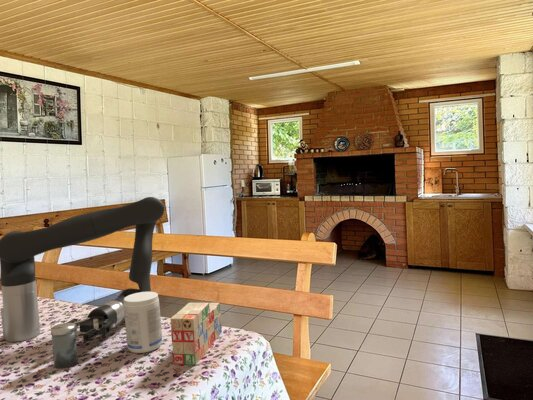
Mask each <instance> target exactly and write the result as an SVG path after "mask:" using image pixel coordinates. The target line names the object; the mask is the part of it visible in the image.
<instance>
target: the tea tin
mask: <svg viewBox="0 0 533 400" xmlns="http://www.w3.org/2000/svg"><path fill="white" fill-rule="evenodd" d="M75 330H76V328H75V323H67V322H64V323H58V324H57V325H56V324H55V325H53V326H52V327H51V328H50V335H51V343H52V354H53V366H54V367H53V368H54V369H55V370H63V369H68V368H71V367H73V366H75V365H76V364H78V361H79V359H78V358H79V357H78V350H77V349H78V348H77V337H76V336H77V335H76V333H75Z"/></svg>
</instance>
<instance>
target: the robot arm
mask: <svg viewBox="0 0 533 400" xmlns="http://www.w3.org/2000/svg"><path fill="white" fill-rule="evenodd" d="M164 214H165V205H164V203H163V202H162V200H160V199H159V198H158V197H154V196H147V197H144V198H142V199H140V200H137V201H135V202H131V203H129V204H126V205H123V206H118V207H113V208H112V207H111V208H105V209H99V210H94V211H90V212H86V213H81V214H79V215H78V214H77V215H75V216H72V217H68V218H66V219H64V220H61V221H58V222H55V223H54V224H52V225H48V226H46V227H42V228H37V229H34V230H28V231H21V230H14V231H12V230H11V231H10V232H7V233H6V234H4V235H3V236H2V237H1V238H0V286H1V298H2V306H3V307H2V308H1V309H0V316H1V317H0V318H1V328H2V329H1V330H2V339H3V340H5V341H6V342H8V343H9V342H10V343H13V342H14V343H15V342H22V341H28V340H30V339H33V338H35V337H37V336H39V335H40V333H41V328H40V327H41V326H40V325H41V324H40V313H39V301H38V290H37V281H36V261H35V256H39V255H40V254H43V253H45V252H48V251H53V250H56V249H62V248H68V247H71V246H76V245H80V244H83V243H87V242H90V241H94V240H98V239H101V238H103V237H106V236H109V235H111V234H114V233H116V232H119V231H121V230H124V229H125V228H129V227H134V226H135V230H134V231H135V233H134V234H135V235H134V242H133V243H134V244H133V247H132V248H133V249H132V255H131V261H130V267H129V272H128V279H129V281H131V282H133V283H135V284H137V286H138V289H137V288H131V287H130V288H125V289H124V290H123V291H121V293H120V294H119V295H118V296H117V297H116V298H115V299H112V300H111V301H108V302H105V303H103V304H102V305H99V306H98V307H96V308H94V309H92V310H91V311H90V312H89V313H88V315H87V317H86V318H83V319H82V320H78V318H73V319H72V320H69V321H67V322H66V323H75V328H76V330H75V333H76V336H78V335H81V334H83V336H82V339H83V342H84V343H88V342H89V341H91V340H92V339H94V338H98V337H100V336H101V337H106V336H107V335H109V334H110V333H111V332H113V331H114V330H116V326H118V324H120V323H121V322H122V321H124V320H125V315H124V298H125V297H126V296H128V295H131V294H134V293H139V292H152V289H151V287H152V286H151V271H152V264H153V263H152V262H153V236H154V230H155V227H156V223H157V222H158V221H159V220H161V218H162V217H163V216H164ZM78 328H79V330H78Z"/></svg>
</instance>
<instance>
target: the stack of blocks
mask: <svg viewBox="0 0 533 400" xmlns="http://www.w3.org/2000/svg"><path fill="white" fill-rule="evenodd" d="M221 313H222V312H221V304H220V302H188V303H187V304H185V305H184V306H183V307H182V308H181V309H180V310H179V311H178V312H177V313H175V314H174V315H173V316H172V317H170V329H171V330H170V335H171V344H172V361H173V365H176V366H177V365H178V366H181V365H182V366H197V365H198V364H199V362H200V361H201V360H202V359H203V358H204V356H205V355H206V353H208V351H209V349H210V348H211V347H212V345H213V344H214V343H215V341H216V340H217V339H218V337H219V336H220V335H221V334H222V332H223V330H222V328H223V327H222V314H221Z"/></svg>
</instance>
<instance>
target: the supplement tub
mask: <svg viewBox="0 0 533 400" xmlns="http://www.w3.org/2000/svg"><path fill="white" fill-rule="evenodd" d="M124 315H125V319H124V325H125V334H126V345H127V350H128V351H129V352H131V353H133V354H146V353H149V352H152V351H154V350H157V349H159V348H160V347H161V345H163V334H162V333H163V331H162V330H163V329H162V321H161V320H162V319H161V318H162V317H161V308H160V299H159V294H158V292H156V291H151V292H139V293H134V294H131V295H128V296H126V297H125V298H124Z"/></svg>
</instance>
